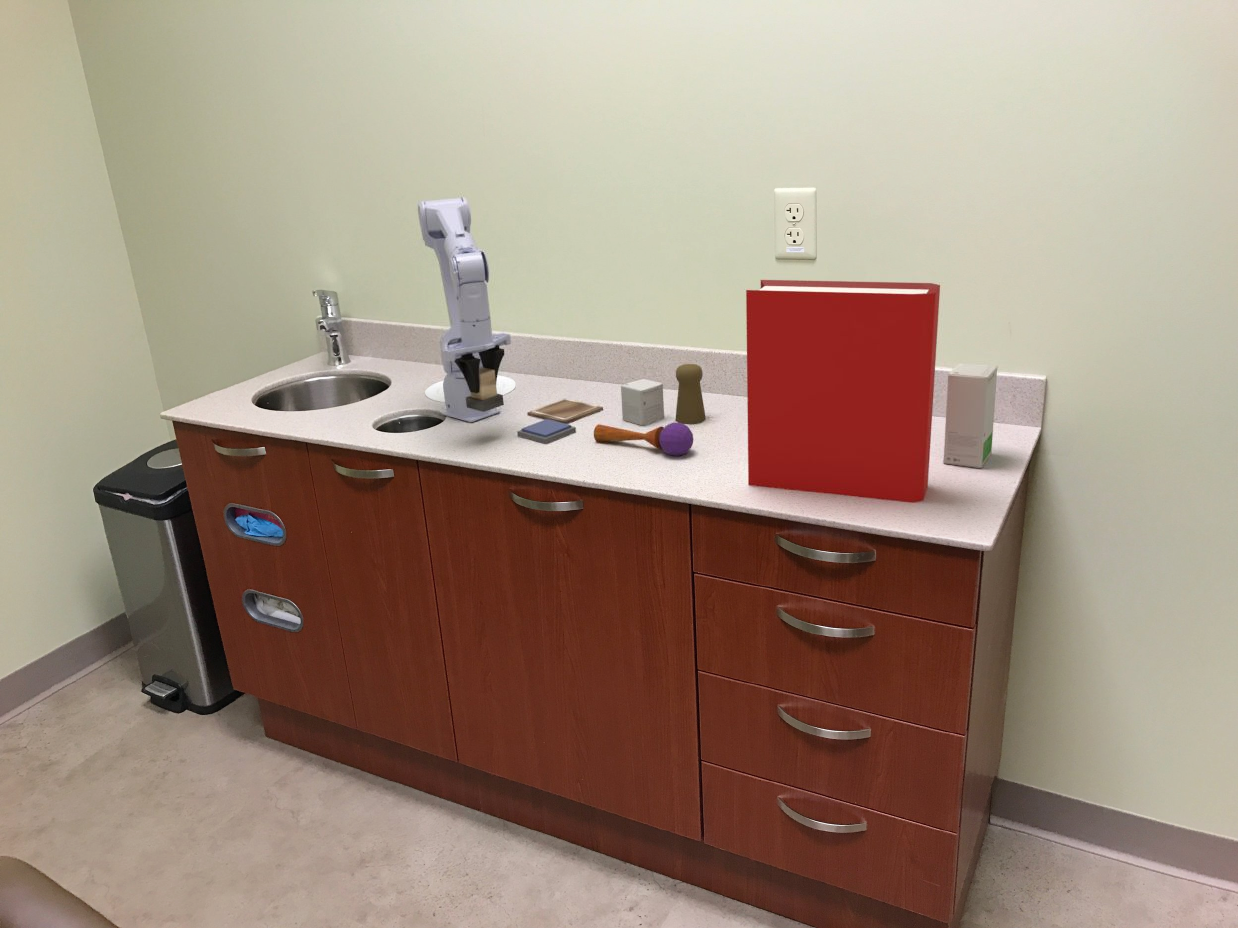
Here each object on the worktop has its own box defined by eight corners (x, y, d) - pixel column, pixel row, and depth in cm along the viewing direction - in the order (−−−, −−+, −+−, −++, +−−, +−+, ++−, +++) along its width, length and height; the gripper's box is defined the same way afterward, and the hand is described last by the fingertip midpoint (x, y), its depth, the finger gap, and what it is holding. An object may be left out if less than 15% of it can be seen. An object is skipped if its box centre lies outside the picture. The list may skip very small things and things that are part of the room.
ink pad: (517, 436, 186) (516, 428, 186) (547, 424, 192) (546, 417, 191) (546, 444, 181) (545, 436, 181) (576, 432, 187) (575, 424, 186)
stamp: (466, 407, 184) (462, 372, 181) (486, 400, 187) (482, 365, 185) (483, 411, 180) (479, 376, 178) (503, 404, 184) (500, 369, 181)
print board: (527, 415, 198) (527, 411, 198) (565, 401, 206) (565, 397, 205) (565, 424, 191) (564, 420, 191) (603, 409, 199) (602, 406, 198)
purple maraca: (607, 415, 183) (699, 421, 172) (608, 446, 184) (699, 454, 173) (588, 419, 178) (682, 425, 167) (589, 451, 179) (682, 459, 168)
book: (748, 485, 157) (746, 290, 146) (761, 467, 164) (760, 279, 152) (922, 503, 146) (934, 294, 135) (928, 484, 153) (941, 283, 142)
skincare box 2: (980, 469, 157) (988, 378, 152) (939, 463, 161) (945, 373, 155) (992, 452, 164) (1000, 364, 158) (952, 447, 167) (958, 360, 162)
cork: (704, 424, 186) (702, 369, 182) (673, 424, 188) (670, 369, 184) (707, 414, 192) (706, 361, 188) (677, 414, 193) (675, 361, 189)
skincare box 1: (642, 426, 188) (640, 390, 185) (621, 420, 192) (619, 385, 189) (665, 418, 191) (663, 383, 189) (644, 412, 196) (642, 377, 193)
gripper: (457, 329, 170) (466, 402, 175) (518, 313, 180) (525, 382, 185) (433, 325, 175) (442, 396, 180) (493, 309, 185) (501, 377, 190)
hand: (482, 389), depth 183 cm, fingers closed on stamp, 3 cm apart
